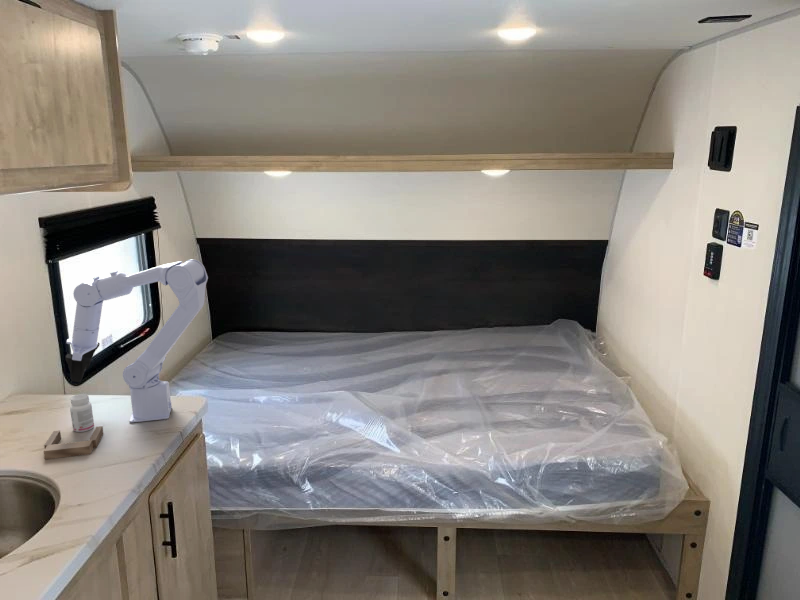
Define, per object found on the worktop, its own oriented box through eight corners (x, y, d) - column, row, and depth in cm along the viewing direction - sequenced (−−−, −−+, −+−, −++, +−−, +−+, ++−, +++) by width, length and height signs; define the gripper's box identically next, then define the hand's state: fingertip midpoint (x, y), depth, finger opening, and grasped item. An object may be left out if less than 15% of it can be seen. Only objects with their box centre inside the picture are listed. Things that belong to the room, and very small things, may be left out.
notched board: (103, 433, 150) (102, 426, 149) (93, 453, 140) (92, 445, 139) (54, 438, 147) (53, 431, 147) (41, 459, 137) (40, 451, 137)
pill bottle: (98, 424, 155) (94, 393, 153) (87, 432, 150) (82, 401, 148) (80, 423, 155) (76, 392, 153) (68, 432, 150) (64, 400, 148)
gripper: (76, 314, 160) (70, 361, 164) (61, 334, 147) (54, 385, 150) (105, 318, 162) (98, 365, 166) (93, 338, 149) (86, 388, 152)
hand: (79, 374), depth 158 cm, fingers open, 7 cm apart
